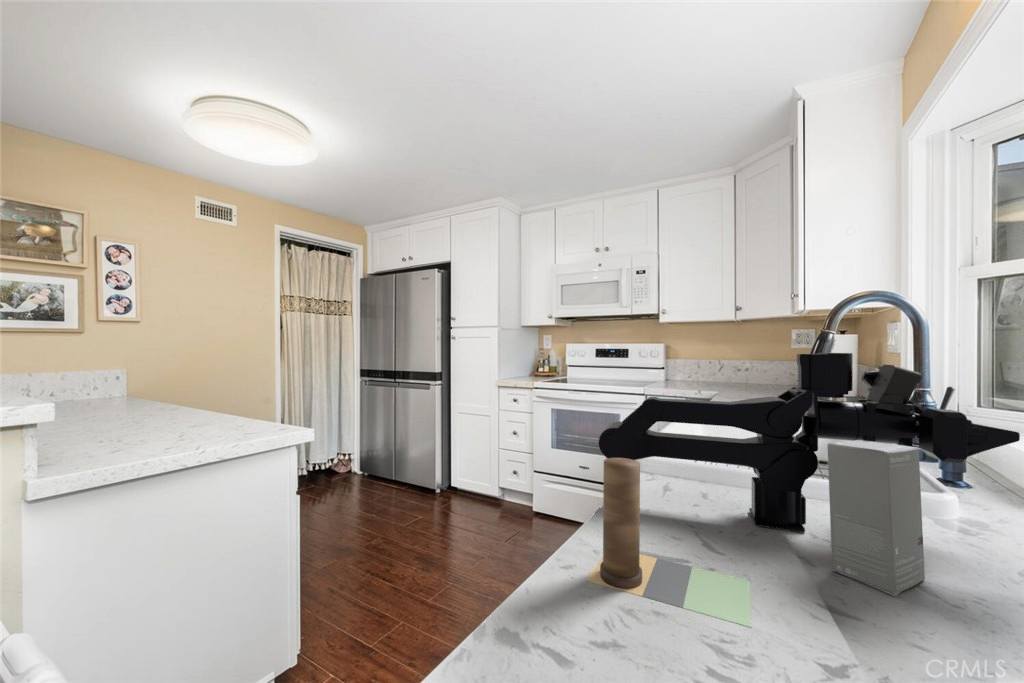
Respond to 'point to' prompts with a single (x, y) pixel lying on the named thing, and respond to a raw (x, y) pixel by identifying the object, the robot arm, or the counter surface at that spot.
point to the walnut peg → (621, 524)
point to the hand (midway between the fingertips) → (993, 429)
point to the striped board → (691, 589)
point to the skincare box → (876, 514)
